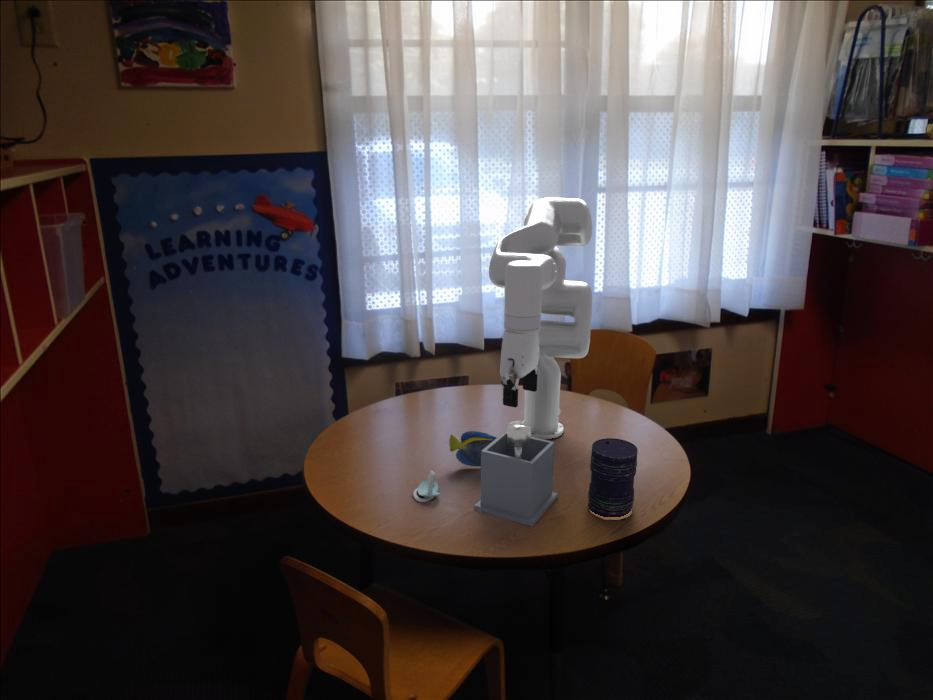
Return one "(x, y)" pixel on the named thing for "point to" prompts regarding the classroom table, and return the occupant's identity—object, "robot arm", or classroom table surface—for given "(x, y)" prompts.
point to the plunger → (518, 436)
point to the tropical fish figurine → (470, 446)
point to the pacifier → (427, 489)
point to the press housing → (517, 480)
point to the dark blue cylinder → (612, 477)
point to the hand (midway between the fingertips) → (520, 397)
